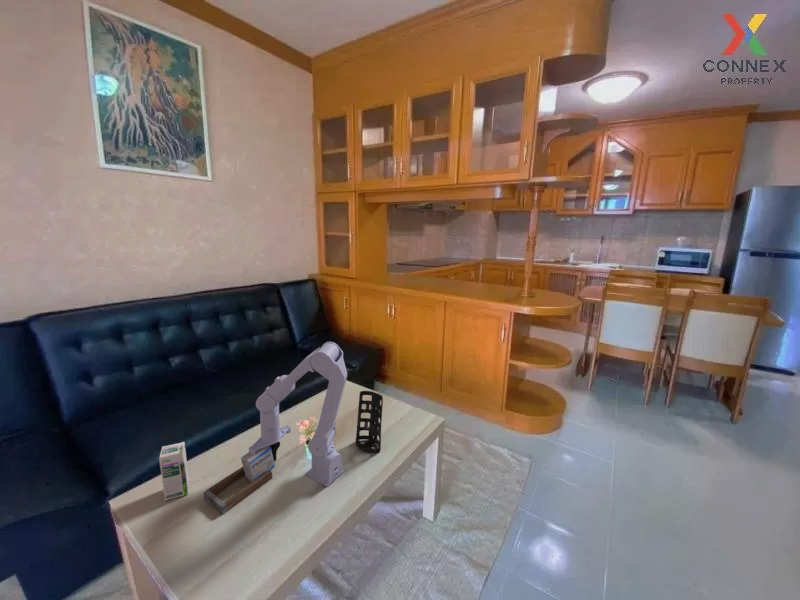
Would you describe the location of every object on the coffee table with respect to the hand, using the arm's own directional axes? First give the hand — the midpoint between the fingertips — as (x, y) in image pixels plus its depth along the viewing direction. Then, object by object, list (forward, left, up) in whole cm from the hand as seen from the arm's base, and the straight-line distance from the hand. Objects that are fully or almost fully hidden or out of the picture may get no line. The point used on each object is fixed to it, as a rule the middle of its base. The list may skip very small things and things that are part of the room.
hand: (271, 461), depth 110 cm
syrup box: (+14, +23, -2) cm, 27 cm away
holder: (-20, -27, -2) cm, 34 cm away
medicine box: (0, +4, -1) cm, 5 cm away
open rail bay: (0, +11, -2) cm, 11 cm away
